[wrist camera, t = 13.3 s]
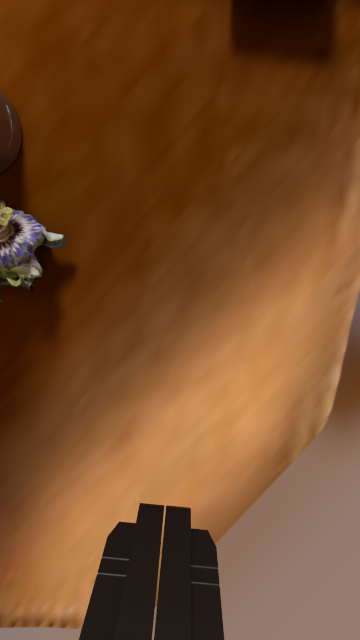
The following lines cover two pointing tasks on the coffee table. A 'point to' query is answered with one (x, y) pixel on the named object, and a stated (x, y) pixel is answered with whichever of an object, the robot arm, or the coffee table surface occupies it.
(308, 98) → the coffee table surface
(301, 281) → the coffee table surface
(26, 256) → the passion flower
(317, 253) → the coffee table surface
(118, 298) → the coffee table surface
